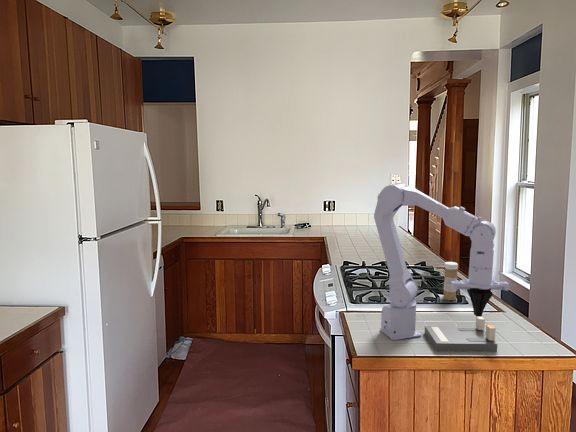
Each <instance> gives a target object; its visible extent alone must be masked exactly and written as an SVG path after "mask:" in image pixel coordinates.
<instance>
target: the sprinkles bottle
mask: <svg viewBox="0 0 576 432" xmlns="http://www.w3.org/2000/svg"><path fill="white" fill-rule="evenodd" d="M458 269H459V264H458V263H457V262H455V261H445V262H444V280H443V295H442V299H444V300H445V301H450V300H453V301H456V300H457V290H458V289H457V290H453V289H452V288H451V281H458ZM455 299H456V300H455Z"/></svg>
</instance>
